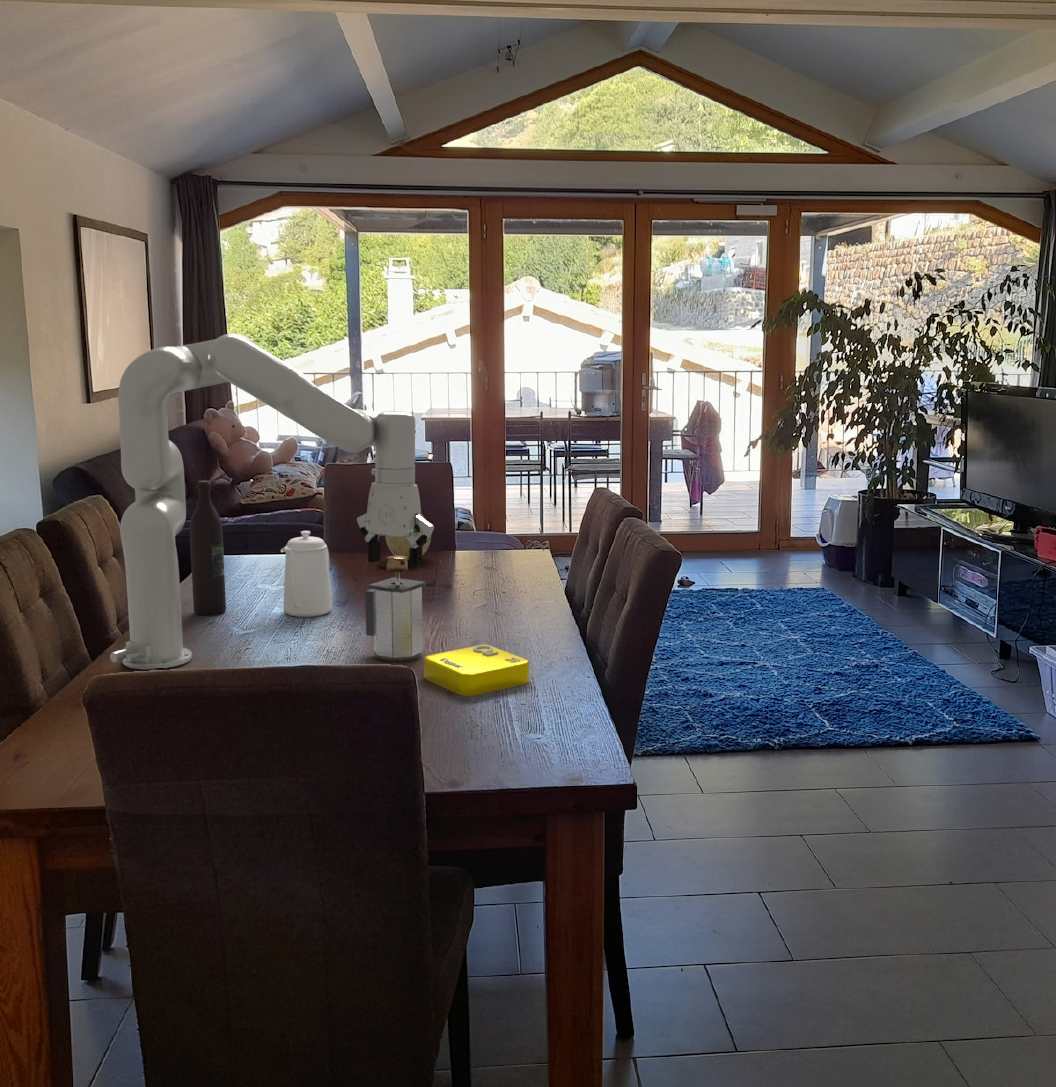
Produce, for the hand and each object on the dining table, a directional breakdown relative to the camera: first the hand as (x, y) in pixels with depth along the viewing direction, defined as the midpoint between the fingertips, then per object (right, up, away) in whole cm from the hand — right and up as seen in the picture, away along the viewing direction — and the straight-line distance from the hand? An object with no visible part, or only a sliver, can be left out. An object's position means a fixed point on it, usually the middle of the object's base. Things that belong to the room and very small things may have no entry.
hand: (394, 564), depth 210 cm
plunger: (0, -13, +2) cm, 13 cm away
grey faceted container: (-1, -18, +4) cm, 18 cm away
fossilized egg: (-8, -1, +97) cm, 98 cm away
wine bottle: (-46, -12, +36) cm, 60 cm away
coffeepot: (-24, -12, +37) cm, 46 cm away
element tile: (+16, -22, -11) cm, 29 cm away
